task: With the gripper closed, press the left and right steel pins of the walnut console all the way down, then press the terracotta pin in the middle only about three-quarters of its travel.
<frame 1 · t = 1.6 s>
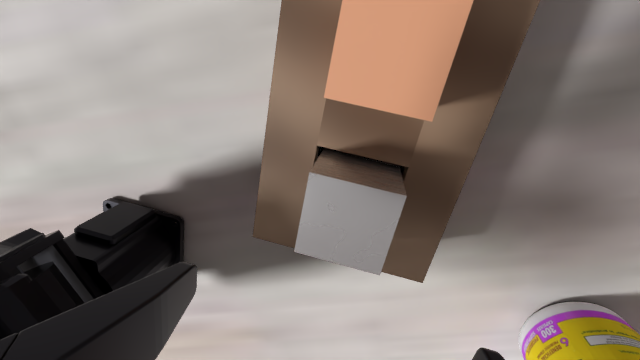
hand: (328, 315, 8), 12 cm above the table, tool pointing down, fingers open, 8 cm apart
supplement bottle: (565, 332, 21), on the table
pin console: (385, 56, 16), on the table
terracotta pin: (390, 52, 12), point 5 cm above the table, slide at 0.0 cm
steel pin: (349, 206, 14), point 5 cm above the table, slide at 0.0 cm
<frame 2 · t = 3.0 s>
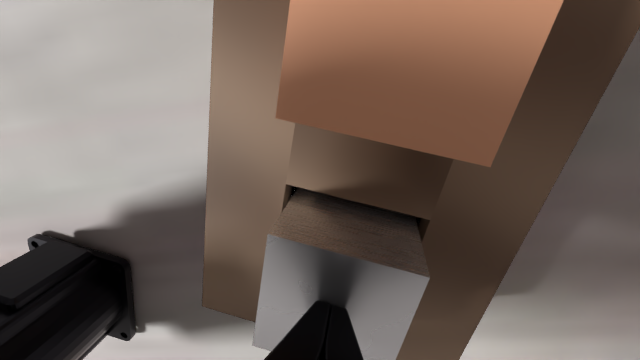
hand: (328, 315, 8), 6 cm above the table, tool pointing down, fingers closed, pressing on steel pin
pin console: (392, 46, 11), on the table
terracotta pin: (402, 32, 6), point 5 cm above the table, slide at 0.0 cm
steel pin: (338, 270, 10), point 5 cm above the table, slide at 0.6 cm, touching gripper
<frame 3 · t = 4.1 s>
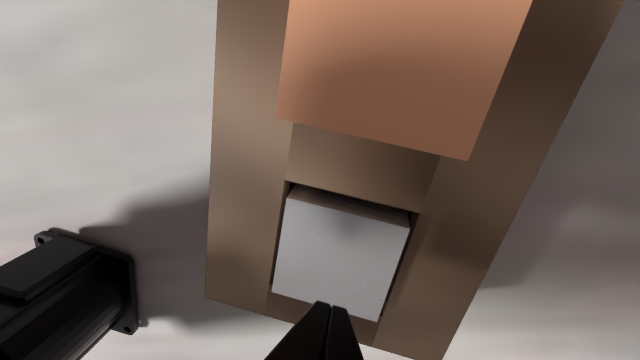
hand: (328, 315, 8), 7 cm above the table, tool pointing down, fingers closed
pin console: (385, 50, 12), on the table
terracotta pin: (391, 39, 7), point 5 cm above the table, slide at 0.0 cm
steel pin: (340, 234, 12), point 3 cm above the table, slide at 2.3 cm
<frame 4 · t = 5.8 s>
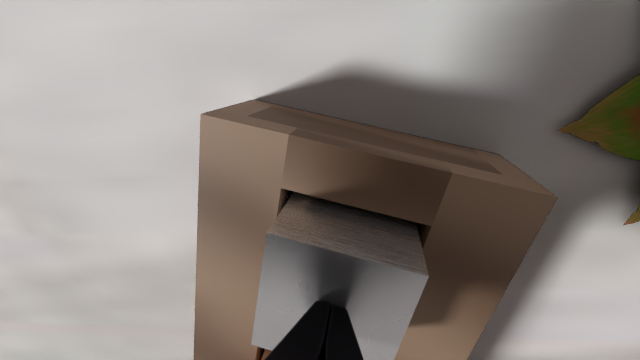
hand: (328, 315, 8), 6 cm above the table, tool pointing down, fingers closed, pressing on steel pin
pin console: (320, 323, 16), on the table
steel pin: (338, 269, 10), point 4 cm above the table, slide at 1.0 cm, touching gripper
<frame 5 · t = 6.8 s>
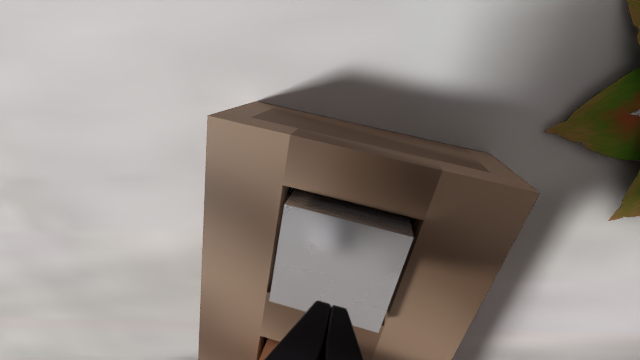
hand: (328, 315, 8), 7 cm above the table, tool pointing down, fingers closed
pin console: (320, 316, 17), on the table
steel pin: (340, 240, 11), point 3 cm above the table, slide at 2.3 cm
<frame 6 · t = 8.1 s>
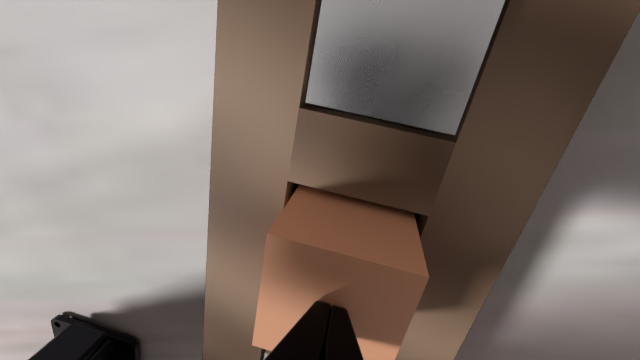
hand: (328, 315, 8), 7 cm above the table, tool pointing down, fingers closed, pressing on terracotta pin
pin console: (351, 206, 14), on the table
terracotta pin: (338, 270, 10), point 5 cm above the table, slide at 0.3 cm, touching gripper
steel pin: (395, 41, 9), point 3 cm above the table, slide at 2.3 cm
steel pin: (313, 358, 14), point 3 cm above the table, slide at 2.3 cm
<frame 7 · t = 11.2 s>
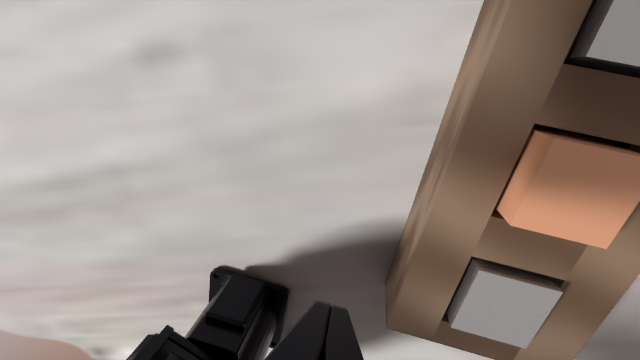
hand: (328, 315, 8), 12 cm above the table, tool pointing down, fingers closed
pin console: (523, 159, 17), on the table
terracotta pin: (556, 179, 14), point 3 cm above the table, slide at 1.7 cm
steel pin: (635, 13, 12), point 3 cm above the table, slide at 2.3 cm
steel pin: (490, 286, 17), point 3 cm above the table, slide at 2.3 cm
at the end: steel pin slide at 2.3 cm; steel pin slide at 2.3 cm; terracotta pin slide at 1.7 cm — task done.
